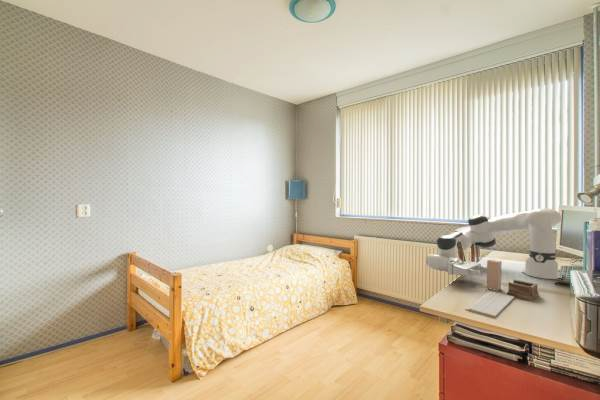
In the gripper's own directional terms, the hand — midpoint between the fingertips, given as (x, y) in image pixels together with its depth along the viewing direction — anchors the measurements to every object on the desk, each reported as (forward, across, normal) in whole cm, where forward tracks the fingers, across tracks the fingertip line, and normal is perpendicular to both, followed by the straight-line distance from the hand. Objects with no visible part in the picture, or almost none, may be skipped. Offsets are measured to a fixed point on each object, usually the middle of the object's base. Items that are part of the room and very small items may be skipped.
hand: (483, 271), depth 151 cm
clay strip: (+4, 0, -8) cm, 9 cm away
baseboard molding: (+10, +24, -8) cm, 27 cm away
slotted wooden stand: (+16, 0, -8) cm, 18 cm away
